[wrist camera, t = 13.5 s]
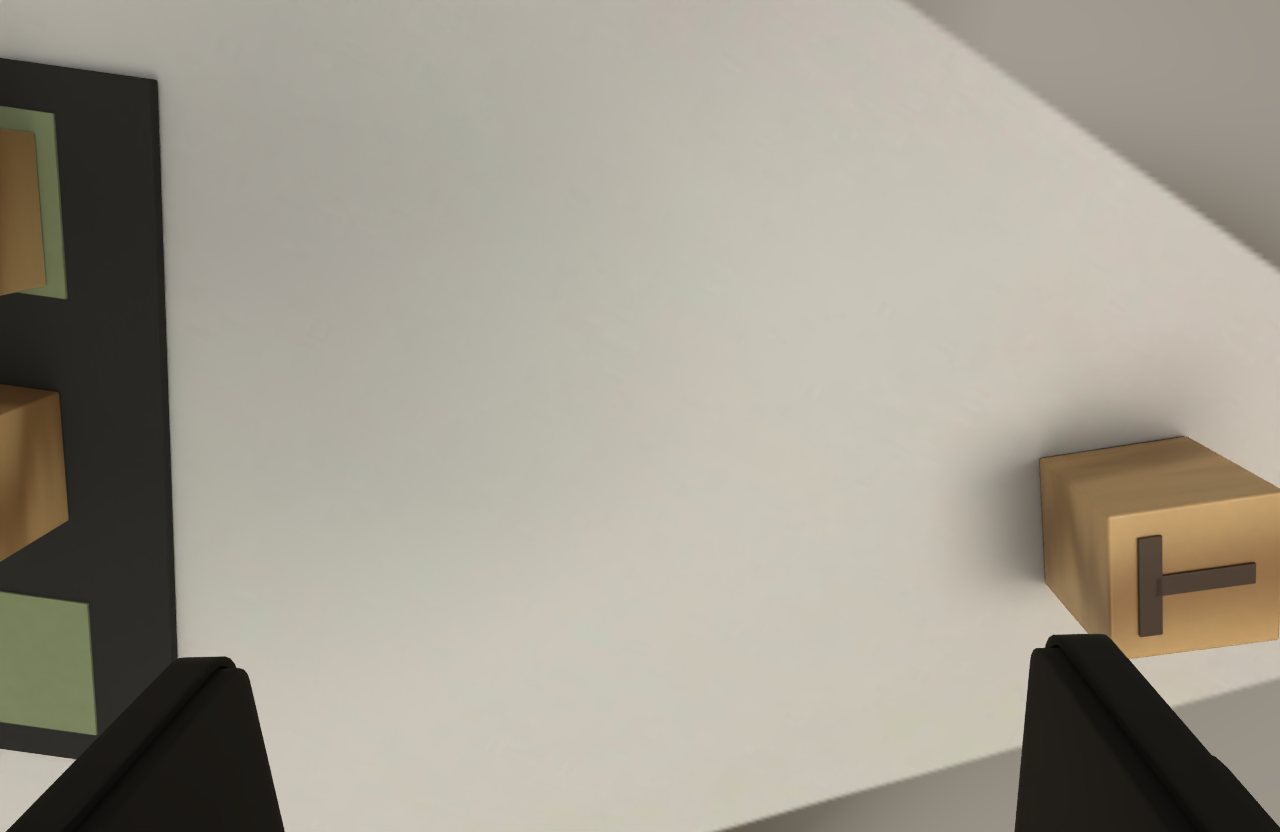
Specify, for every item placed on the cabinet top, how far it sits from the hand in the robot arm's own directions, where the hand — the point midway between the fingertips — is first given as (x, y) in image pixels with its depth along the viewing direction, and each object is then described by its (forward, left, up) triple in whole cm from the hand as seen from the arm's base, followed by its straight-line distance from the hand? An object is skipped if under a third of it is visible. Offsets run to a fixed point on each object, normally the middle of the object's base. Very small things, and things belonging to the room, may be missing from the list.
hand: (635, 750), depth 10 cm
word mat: (+5, -21, -17) cm, 28 cm away
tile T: (+2, +15, -17) cm, 23 cm away
